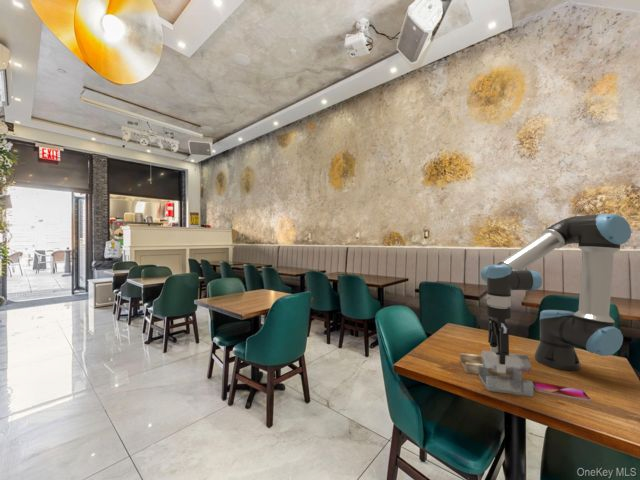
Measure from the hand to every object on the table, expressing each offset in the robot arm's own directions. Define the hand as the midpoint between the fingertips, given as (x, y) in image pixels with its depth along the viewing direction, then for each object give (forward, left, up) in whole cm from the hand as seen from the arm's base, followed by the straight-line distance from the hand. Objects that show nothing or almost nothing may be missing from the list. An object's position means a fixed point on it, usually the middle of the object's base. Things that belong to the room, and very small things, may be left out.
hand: (497, 367), depth 103 cm
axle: (-2, 0, 0) cm, 2 cm away
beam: (+1, -13, -6) cm, 15 cm away
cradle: (-2, 0, -6) cm, 7 cm away
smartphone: (-20, -1, -7) cm, 21 cm away
